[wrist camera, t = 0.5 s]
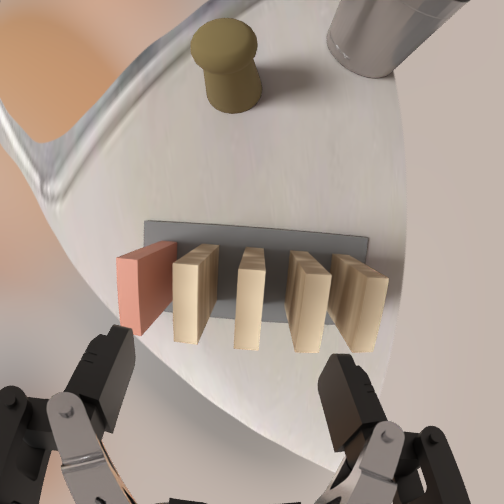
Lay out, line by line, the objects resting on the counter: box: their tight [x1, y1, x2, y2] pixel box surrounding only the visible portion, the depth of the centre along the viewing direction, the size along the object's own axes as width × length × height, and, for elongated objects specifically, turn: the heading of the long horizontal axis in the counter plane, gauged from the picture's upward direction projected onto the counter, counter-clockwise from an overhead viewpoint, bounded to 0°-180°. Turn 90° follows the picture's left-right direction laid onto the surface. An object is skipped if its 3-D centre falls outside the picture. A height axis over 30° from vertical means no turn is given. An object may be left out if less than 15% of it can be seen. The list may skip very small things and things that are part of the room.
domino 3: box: [234, 247, 266, 350], centre depth 24 cm, size 2×6×10 cm, turn 176°
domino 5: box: [327, 254, 389, 353], centre depth 23 cm, size 2×6×10 cm, turn 176°
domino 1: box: [116, 241, 177, 336], centre depth 24 cm, size 2×6×10 cm, turn 176°
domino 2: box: [173, 244, 219, 345], centre depth 24 cm, size 2×6×10 cm, turn 176°
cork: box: [191, 18, 262, 114], centre depth 20 cm, size 6×6×11 cm
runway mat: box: [144, 221, 368, 325], centre depth 29 cm, size 24×10×1 cm, turn 86°
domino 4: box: [284, 250, 332, 353], centre depth 24 cm, size 2×6×10 cm, turn 176°
